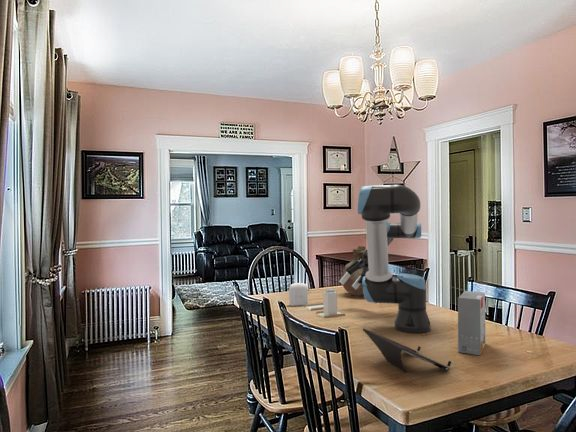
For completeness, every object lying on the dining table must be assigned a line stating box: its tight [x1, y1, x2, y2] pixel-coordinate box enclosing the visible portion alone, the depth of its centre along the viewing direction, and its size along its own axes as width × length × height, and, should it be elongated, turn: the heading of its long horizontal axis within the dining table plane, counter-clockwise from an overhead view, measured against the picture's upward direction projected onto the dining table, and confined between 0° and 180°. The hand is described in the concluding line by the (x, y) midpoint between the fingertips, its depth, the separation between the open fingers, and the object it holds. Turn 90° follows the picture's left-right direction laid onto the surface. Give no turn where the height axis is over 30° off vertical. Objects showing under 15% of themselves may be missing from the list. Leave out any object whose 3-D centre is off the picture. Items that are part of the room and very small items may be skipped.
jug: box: [340, 245, 366, 298], centre depth 248 cm, size 22×22×30 cm
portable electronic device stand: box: [362, 327, 452, 373], centre depth 136 cm, size 23×23×9 cm
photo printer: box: [288, 282, 309, 307], centre depth 226 cm, size 10×4×12 cm, turn 98°
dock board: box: [303, 302, 346, 319], centre depth 207 cm, size 26×12×2 cm, turn 20°
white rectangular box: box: [322, 288, 338, 315], centre depth 199 cm, size 5×5×12 cm
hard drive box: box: [457, 290, 486, 356], centre depth 151 cm, size 16×8×20 cm, turn 148°
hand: (347, 285), depth 203 cm, fingers open, 13 cm apart
